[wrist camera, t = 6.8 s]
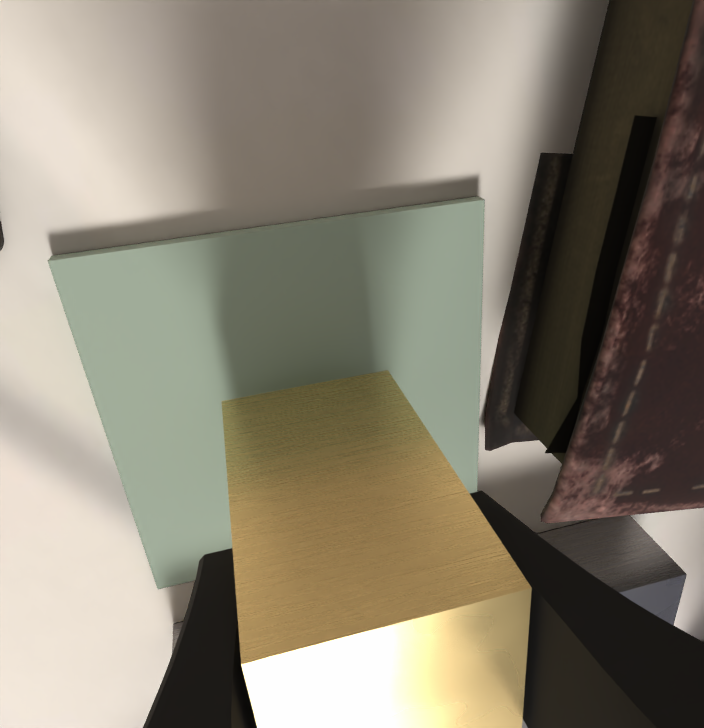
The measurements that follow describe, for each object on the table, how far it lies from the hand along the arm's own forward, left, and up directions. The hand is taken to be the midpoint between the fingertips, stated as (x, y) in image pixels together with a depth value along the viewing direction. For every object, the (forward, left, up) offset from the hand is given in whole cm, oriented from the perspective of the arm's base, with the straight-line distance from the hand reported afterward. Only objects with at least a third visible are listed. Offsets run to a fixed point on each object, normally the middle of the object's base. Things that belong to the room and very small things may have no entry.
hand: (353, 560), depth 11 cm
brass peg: (0, 0, -4) cm, 4 cm away
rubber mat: (0, 0, -6) cm, 6 cm away
